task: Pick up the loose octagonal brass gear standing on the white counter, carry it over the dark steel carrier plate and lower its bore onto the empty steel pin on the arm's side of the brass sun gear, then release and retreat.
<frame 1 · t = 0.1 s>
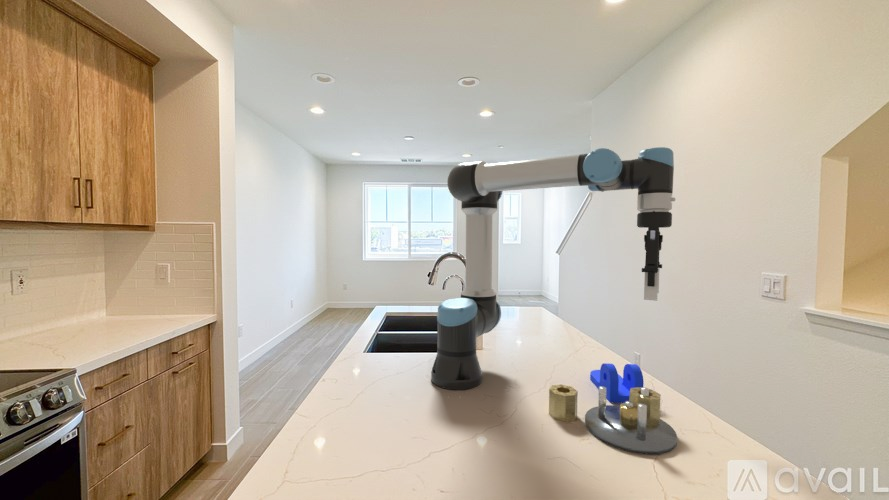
hand: (651, 296, 90), 28 cm above the countertop, fingers open, 13 cm apart
gear: (562, 414, 86), on the countertop
bracket: (611, 389, 101), on the countertop
carrier: (628, 429, 79), on the countertop
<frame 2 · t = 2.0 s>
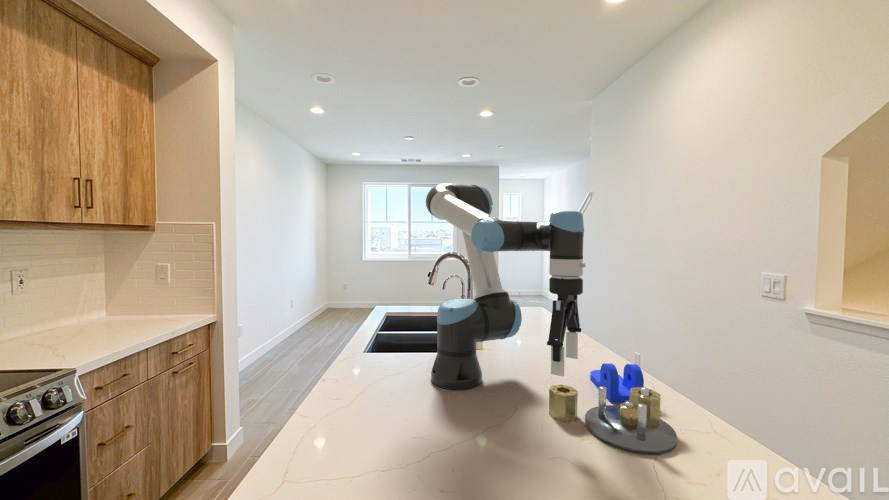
hand: (565, 365, 85), 12 cm above the countertop, fingers open, 13 cm apart
nothing on the countertop moved.
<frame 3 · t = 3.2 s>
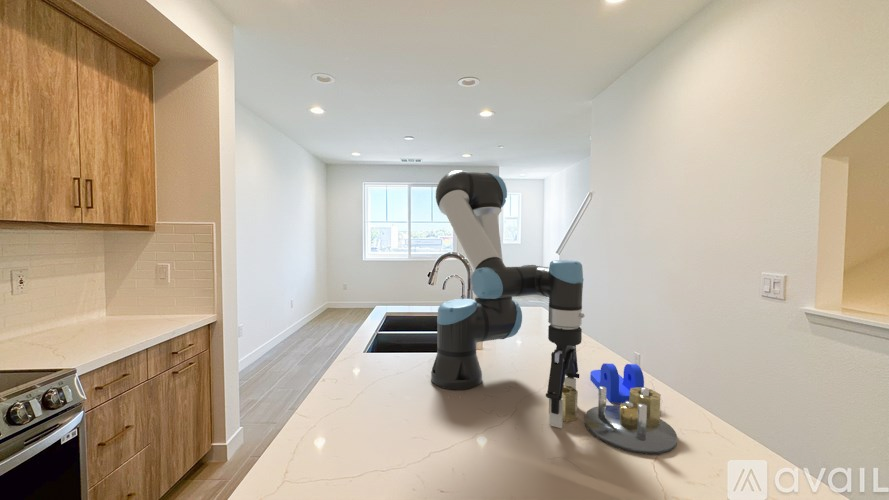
hand: (563, 414, 85), 0 cm above the countertop, fingers open, 12 cm apart
nothing on the countertop moved.
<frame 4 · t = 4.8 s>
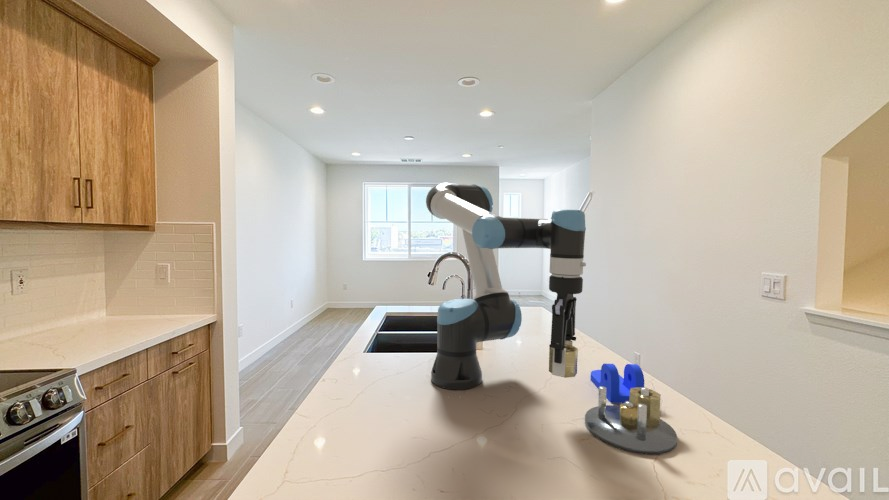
hand: (562, 370, 86), 11 cm above the countertop, fingers closed on gear, 6 cm apart
gear: (562, 372, 86), point 10 cm above the countertop, touching gripper
everything else where it was.
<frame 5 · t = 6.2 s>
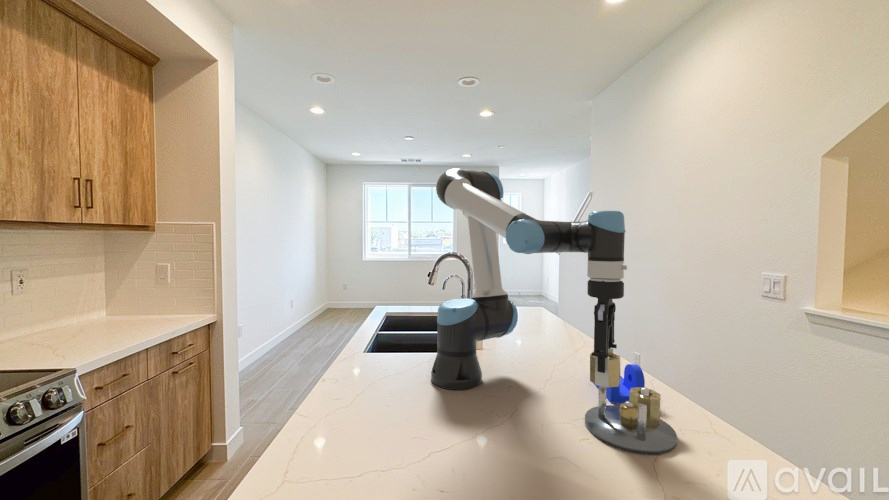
hand: (604, 380, 81), 10 cm above the countertop, fingers closed on gear, 6 cm apart
gear: (605, 381, 81), point 10 cm above the countertop, touching gripper
everything else where it was.
when the fingers open (2 cm above the countertop, at t = 7.9 s): gear stays where it is, resting on carrier.
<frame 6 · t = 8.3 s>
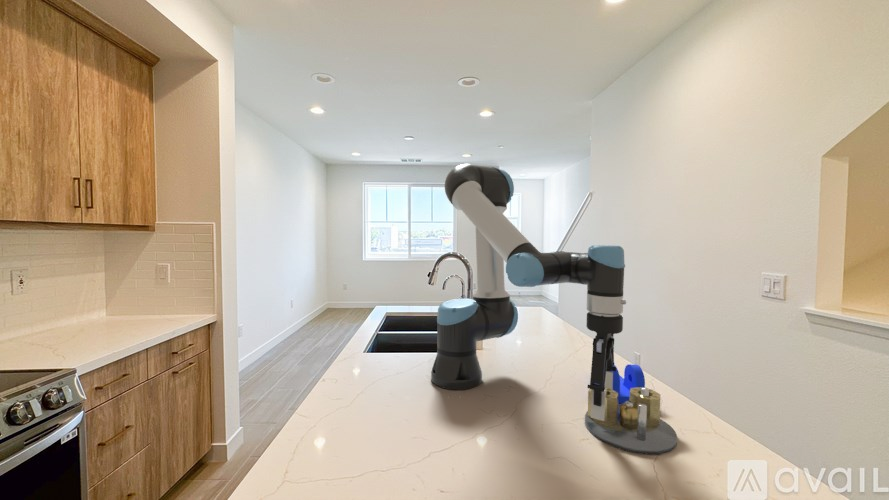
hand: (602, 407, 82), 4 cm above the countertop, fingers open, 11 cm apart
gear: (602, 417, 82), point 1 cm above the countertop, touching carrier
everything else where it was.
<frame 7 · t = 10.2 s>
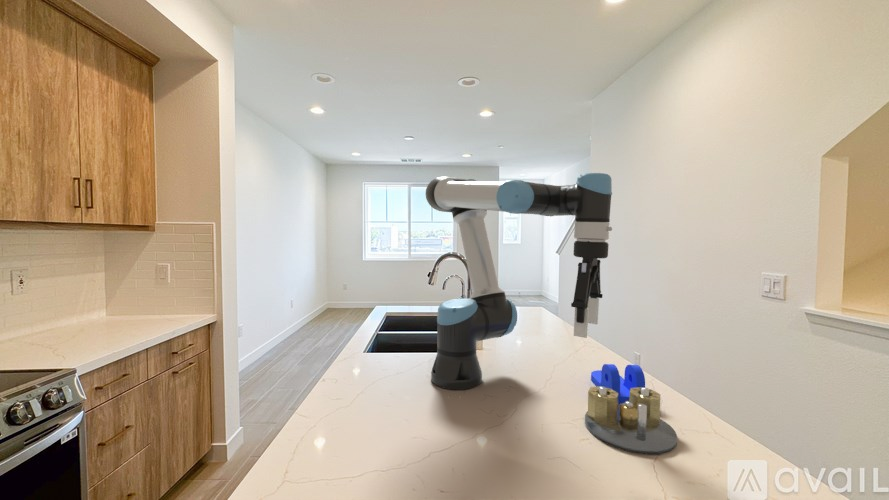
hand: (586, 329, 85), 21 cm above the countertop, fingers open, 13 cm apart
nothing on the countertop moved.
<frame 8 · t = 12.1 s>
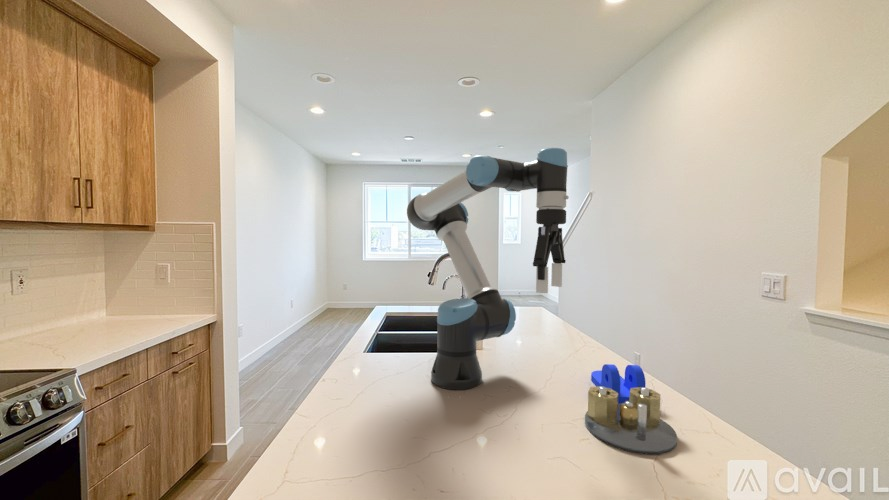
hand: (549, 289, 94), 29 cm above the countertop, fingers open, 13 cm apart
nothing on the countertop moved.
at the end: gear 0.2 cm from the target spot on the carrier, point 1.2 cm above the carrier's base; gear tilted 0°; the gripper is holding nothing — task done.
